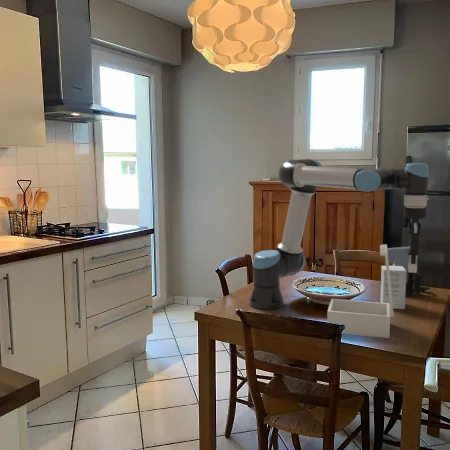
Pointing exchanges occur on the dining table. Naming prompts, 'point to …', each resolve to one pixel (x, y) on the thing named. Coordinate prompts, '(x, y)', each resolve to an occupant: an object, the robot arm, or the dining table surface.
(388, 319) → the mailer box
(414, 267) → the robot arm
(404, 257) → the mailer lid
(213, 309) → the dining table surface
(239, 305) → the dining table surface
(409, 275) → the milk frother
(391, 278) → the supplement box
